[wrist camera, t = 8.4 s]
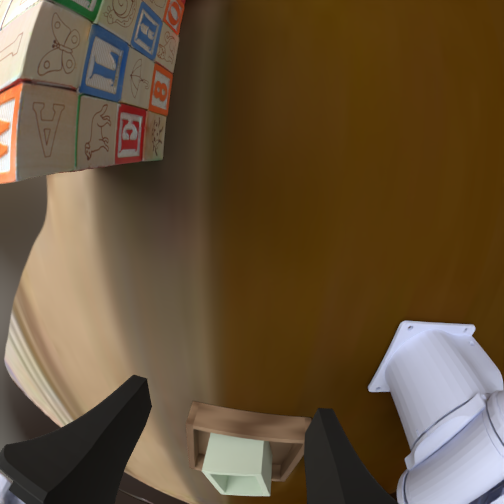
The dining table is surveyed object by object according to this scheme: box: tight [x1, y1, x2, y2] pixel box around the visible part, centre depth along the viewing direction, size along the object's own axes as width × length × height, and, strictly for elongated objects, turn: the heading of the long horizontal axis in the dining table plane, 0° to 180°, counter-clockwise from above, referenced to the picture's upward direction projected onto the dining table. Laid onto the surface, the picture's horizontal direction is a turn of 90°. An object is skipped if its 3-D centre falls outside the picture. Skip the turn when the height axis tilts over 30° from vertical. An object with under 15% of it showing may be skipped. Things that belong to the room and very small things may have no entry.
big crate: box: [186, 401, 311, 481], centre depth 24 cm, size 12×12×3 cm
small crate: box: [202, 433, 272, 496], centre depth 22 cm, size 6×8×6 cm
